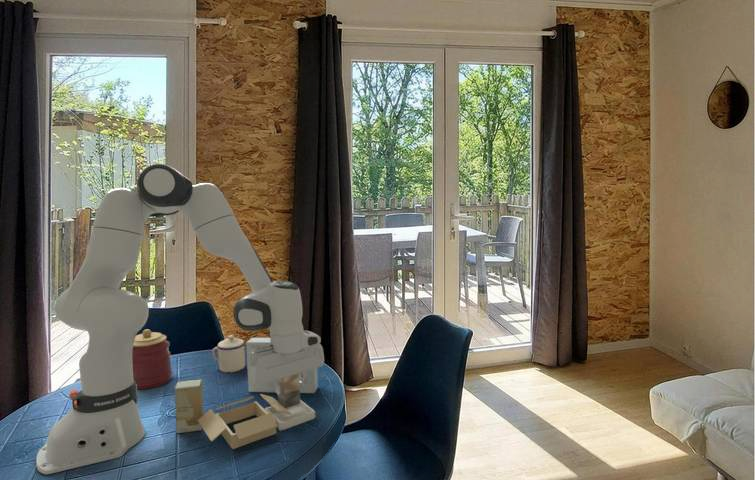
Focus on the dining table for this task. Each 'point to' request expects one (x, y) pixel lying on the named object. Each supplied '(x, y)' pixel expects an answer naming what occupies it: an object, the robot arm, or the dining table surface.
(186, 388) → the skincare box
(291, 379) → the chunky box
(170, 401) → the dining table surface
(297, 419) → the tray
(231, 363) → the teacup with lid
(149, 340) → the canister
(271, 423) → the carton
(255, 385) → the skincare box
